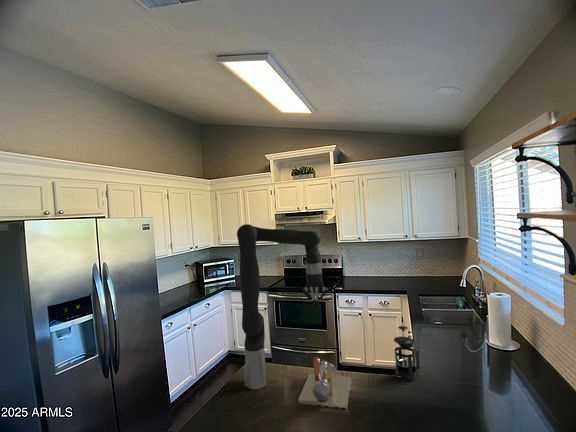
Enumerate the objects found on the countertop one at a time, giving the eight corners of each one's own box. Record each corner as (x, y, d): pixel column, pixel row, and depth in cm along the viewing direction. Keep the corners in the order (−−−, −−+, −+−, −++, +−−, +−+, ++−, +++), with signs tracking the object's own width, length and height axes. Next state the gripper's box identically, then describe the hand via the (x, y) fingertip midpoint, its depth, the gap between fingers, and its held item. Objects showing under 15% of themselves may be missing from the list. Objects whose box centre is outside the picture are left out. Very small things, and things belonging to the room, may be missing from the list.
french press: (400, 382, 137) (397, 331, 137) (390, 372, 146) (387, 324, 147) (424, 379, 139) (421, 329, 139) (413, 369, 148) (410, 322, 148)
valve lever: (321, 364, 134) (320, 342, 134) (328, 364, 133) (326, 343, 133) (313, 384, 118) (312, 360, 118) (320, 384, 117) (319, 360, 117)
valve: (298, 403, 126) (296, 375, 126) (309, 376, 147) (308, 352, 147) (346, 409, 120) (345, 379, 120) (351, 380, 141) (350, 355, 142)
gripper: (298, 273, 145) (300, 310, 145) (326, 273, 142) (328, 310, 141) (302, 271, 152) (304, 305, 152) (328, 270, 149) (330, 306, 148)
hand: (316, 308), depth 147 cm, fingers closed
